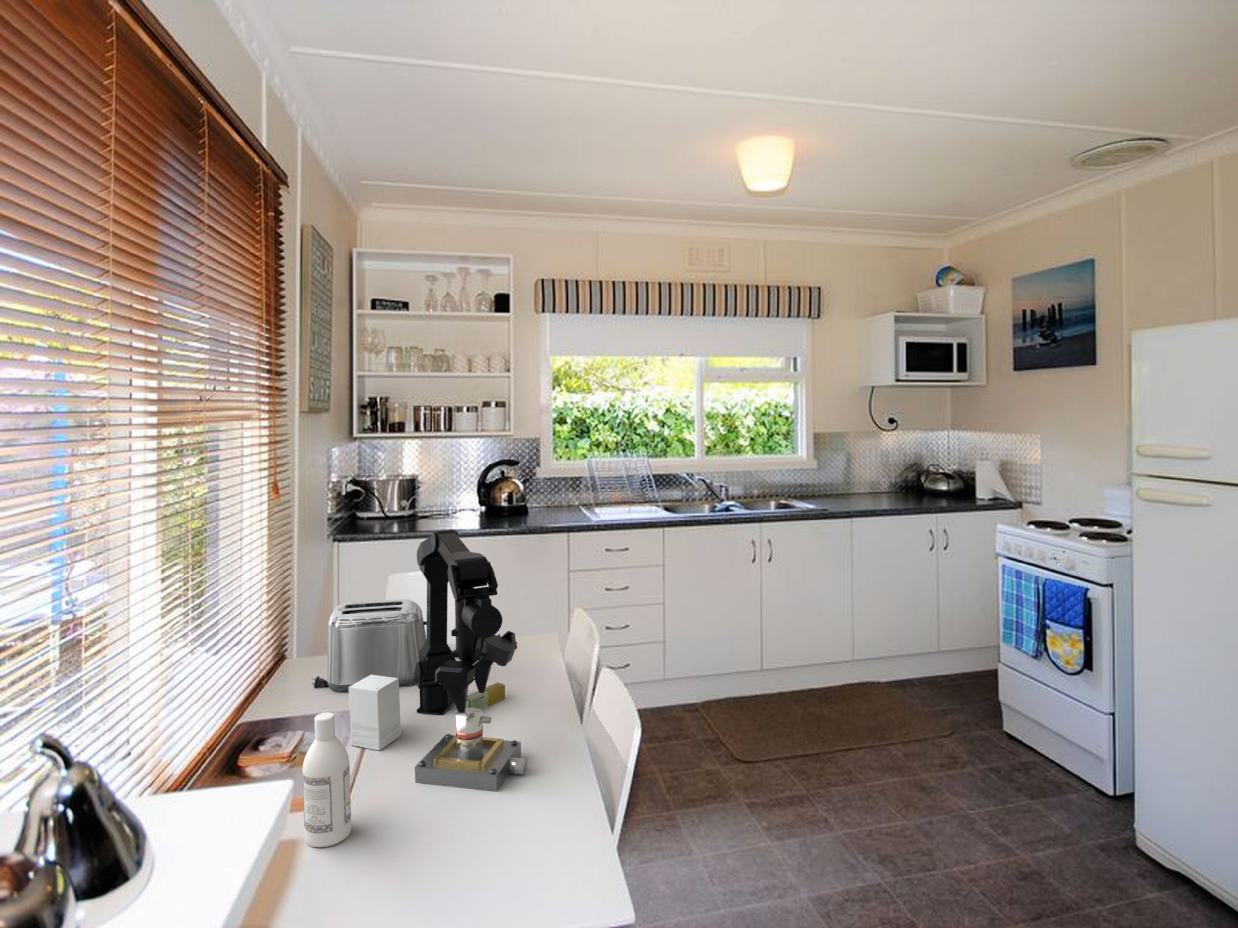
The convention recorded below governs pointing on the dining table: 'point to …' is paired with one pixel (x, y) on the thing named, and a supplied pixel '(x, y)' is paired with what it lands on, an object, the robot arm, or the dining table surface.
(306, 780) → the bath foam
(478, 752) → the spout can
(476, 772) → the grey fixture base
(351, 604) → the toaster
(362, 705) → the supplement box
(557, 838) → the dining table surface
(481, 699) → the medication box
